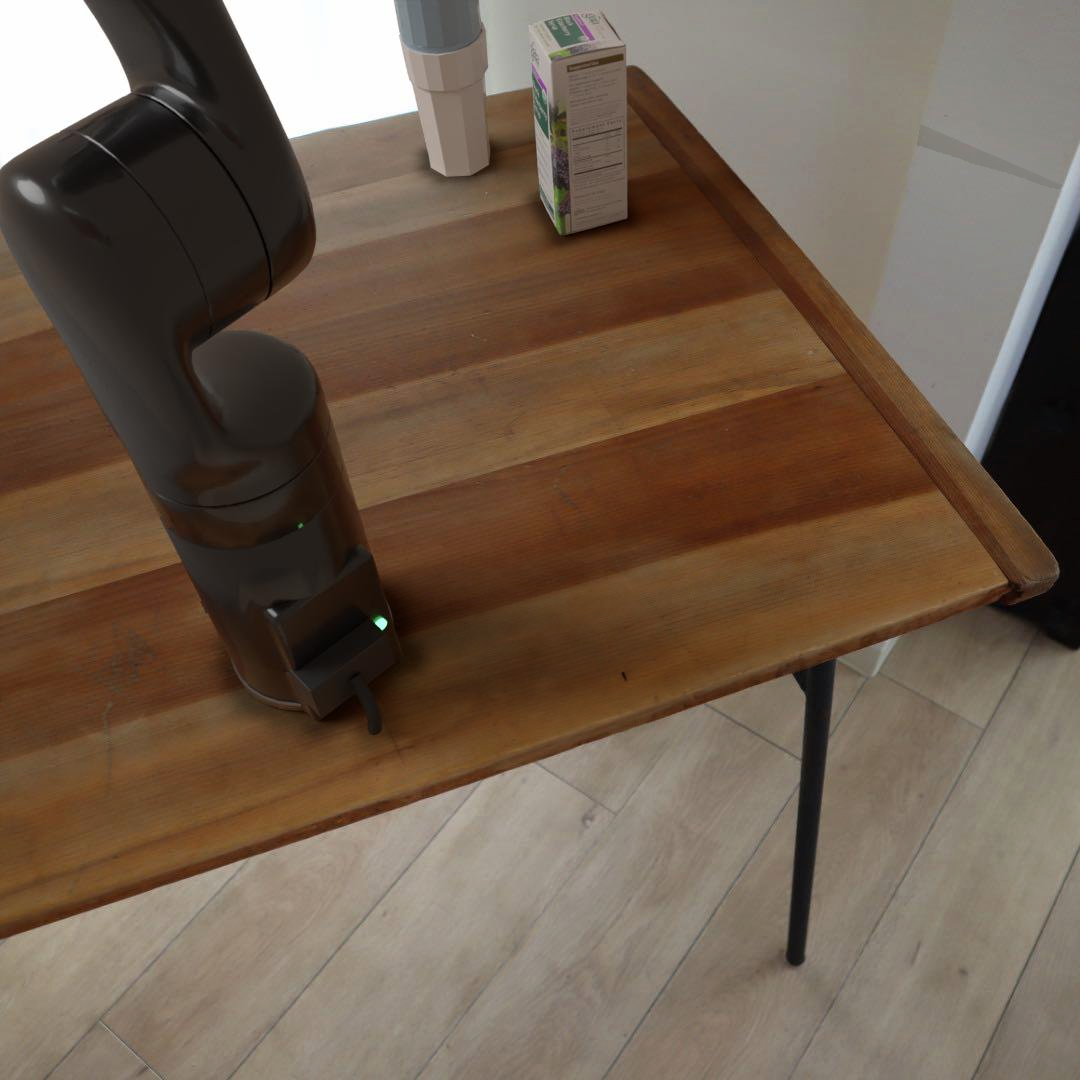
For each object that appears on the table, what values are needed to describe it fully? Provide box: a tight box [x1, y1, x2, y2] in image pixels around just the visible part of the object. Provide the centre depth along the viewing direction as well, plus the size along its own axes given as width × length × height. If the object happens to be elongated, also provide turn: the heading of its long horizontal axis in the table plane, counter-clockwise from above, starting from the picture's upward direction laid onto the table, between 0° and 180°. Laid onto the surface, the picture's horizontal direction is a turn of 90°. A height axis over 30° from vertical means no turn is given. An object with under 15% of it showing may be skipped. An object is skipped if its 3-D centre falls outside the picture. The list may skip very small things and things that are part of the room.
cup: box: [398, 20, 491, 178], centre depth 94 cm, size 7×7×11 cm
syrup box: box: [528, 9, 629, 236], centre depth 87 cm, size 6×6×14 cm
